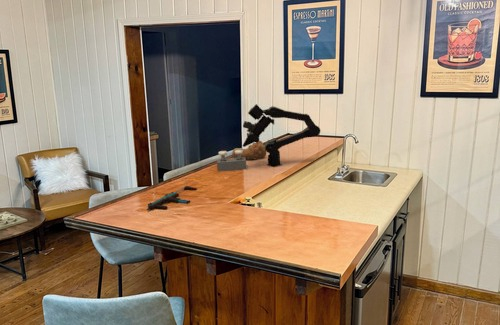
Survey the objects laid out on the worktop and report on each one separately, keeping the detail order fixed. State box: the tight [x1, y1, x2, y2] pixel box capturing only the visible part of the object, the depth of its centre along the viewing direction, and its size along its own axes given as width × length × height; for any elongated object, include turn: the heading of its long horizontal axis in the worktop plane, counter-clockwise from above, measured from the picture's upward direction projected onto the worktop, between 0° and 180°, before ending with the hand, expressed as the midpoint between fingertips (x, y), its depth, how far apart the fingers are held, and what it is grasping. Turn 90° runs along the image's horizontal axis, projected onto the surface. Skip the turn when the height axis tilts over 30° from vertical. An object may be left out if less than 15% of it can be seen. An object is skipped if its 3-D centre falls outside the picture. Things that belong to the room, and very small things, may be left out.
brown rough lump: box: [232, 140, 267, 160], centre depth 253 cm, size 19×11×15 cm
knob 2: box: [235, 150, 243, 160], centre depth 231 cm, size 5×5×6 cm
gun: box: [146, 185, 198, 211], centre depth 184 cm, size 32×2×15 cm
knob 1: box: [218, 150, 228, 161], centre depth 230 cm, size 5×5×6 cm
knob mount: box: [216, 157, 247, 172], centre depth 232 cm, size 16×8×5 cm, turn 93°
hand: (243, 146), depth 230 cm, fingers closed
